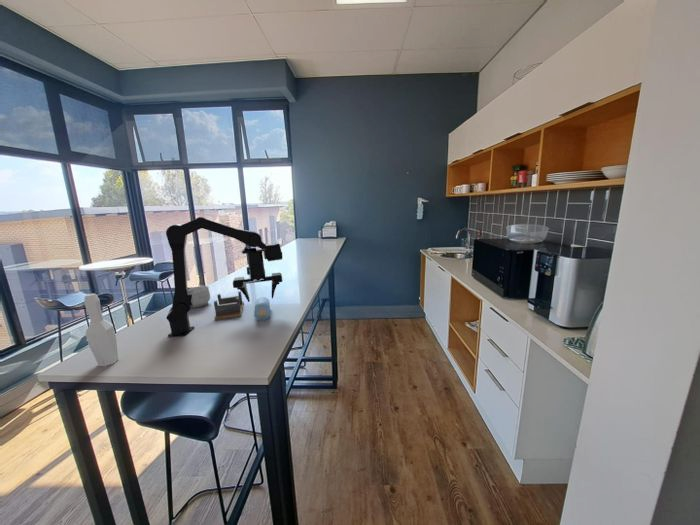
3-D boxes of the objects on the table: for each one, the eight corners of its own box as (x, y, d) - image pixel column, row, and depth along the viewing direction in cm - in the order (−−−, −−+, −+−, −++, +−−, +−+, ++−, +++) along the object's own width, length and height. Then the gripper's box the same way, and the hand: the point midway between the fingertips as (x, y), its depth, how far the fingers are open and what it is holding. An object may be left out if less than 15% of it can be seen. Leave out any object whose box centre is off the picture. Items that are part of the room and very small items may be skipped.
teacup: (203, 309, 124) (200, 292, 122) (180, 310, 125) (176, 293, 123) (218, 298, 138) (216, 283, 136) (197, 299, 138) (194, 284, 136)
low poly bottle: (125, 354, 88) (108, 289, 83) (117, 364, 83) (98, 296, 78) (100, 359, 86) (81, 293, 81) (91, 370, 80) (69, 300, 75)
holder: (240, 316, 114) (238, 300, 112) (214, 320, 111) (211, 304, 109) (243, 303, 129) (241, 289, 127) (220, 306, 126) (218, 292, 124)
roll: (270, 319, 109) (269, 305, 108) (255, 322, 108) (253, 308, 106) (270, 308, 121) (268, 295, 119) (256, 310, 119) (254, 297, 118)
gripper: (279, 256, 119) (282, 290, 123) (233, 261, 114) (238, 297, 118) (280, 262, 109) (284, 299, 112) (230, 267, 104) (235, 306, 107)
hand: (260, 299), depth 113 cm, fingers open, 9 cm apart
